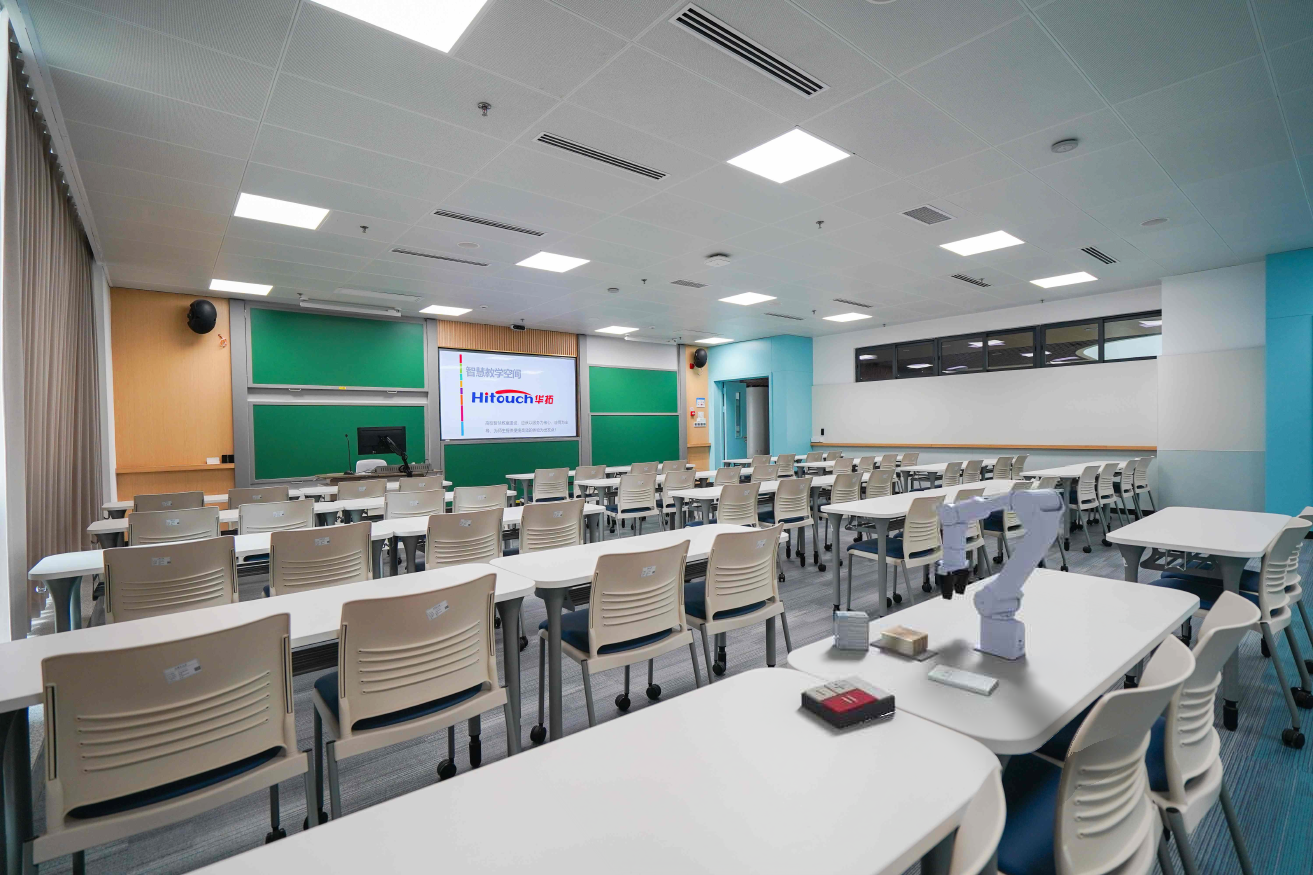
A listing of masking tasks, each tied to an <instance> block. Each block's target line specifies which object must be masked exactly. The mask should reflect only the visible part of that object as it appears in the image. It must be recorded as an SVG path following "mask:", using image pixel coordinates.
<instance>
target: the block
mask: <svg viewBox="0 0 1313 875" xmlns="http://www.w3.org/2000/svg"><path fill="white" fill-rule="evenodd" d="M881 638H882V646H884V647H887V648H890V649H893V650H896V651H899V652H902V653H906V654H909V655H913V654H915V653H918V652H920V651H922V650H924V649H929V648H928V646H929V644H928V643H929V634H928V633H926V632H921V631H918V630H914V629H912V628H911V629H910V628H907V627H904V626H900V625H898V626H895V627H892V628H889V629H887V630H884V631H882V632H881Z"/></svg>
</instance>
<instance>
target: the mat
mask: <svg viewBox="0 0 1313 875" xmlns="http://www.w3.org/2000/svg"><path fill="white" fill-rule="evenodd" d="M869 646H873V647H876V648H879V649H881V650H885V651H888V652H892V653H895V654H898V655H900V656H904V657H906V658H909V659H913V660H916V661H919V662H924V661H926V660H928V659H930V658H932V657H934V656H936V655H938V654H939V653H938V651H935V650H931V649H929V648H926V649H924V650H922V651H920V652H918V653H915V654H913V655H909V654H906V653H902V652H899V651H896V650H893V649H890V648H887V647H884V646H882V637H880V638H879V639H876V640H875V641H872V642H869Z"/></svg>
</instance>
